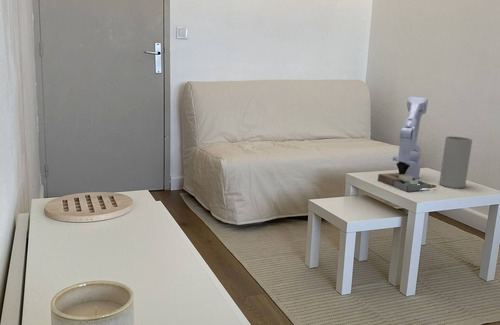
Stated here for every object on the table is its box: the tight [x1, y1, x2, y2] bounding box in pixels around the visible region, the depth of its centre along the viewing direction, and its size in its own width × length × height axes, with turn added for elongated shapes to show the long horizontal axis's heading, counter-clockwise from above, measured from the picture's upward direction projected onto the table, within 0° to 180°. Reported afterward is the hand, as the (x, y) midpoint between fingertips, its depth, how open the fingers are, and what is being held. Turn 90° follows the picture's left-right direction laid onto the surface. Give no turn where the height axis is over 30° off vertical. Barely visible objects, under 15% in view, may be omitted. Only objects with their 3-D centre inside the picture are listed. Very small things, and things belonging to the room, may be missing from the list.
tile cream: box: [399, 174, 413, 181], centre depth 242 cm, size 5×4×2 cm
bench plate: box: [377, 172, 415, 188], centre depth 248 cm, size 14×12×4 cm
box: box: [393, 179, 431, 193], centre depth 238 cm, size 14×10×3 cm
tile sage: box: [404, 179, 419, 186], centre depth 238 cm, size 5×4×2 cm
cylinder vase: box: [439, 135, 473, 189], centre depth 246 cm, size 12×12×25 cm
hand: (401, 176), depth 244 cm, fingers closed
